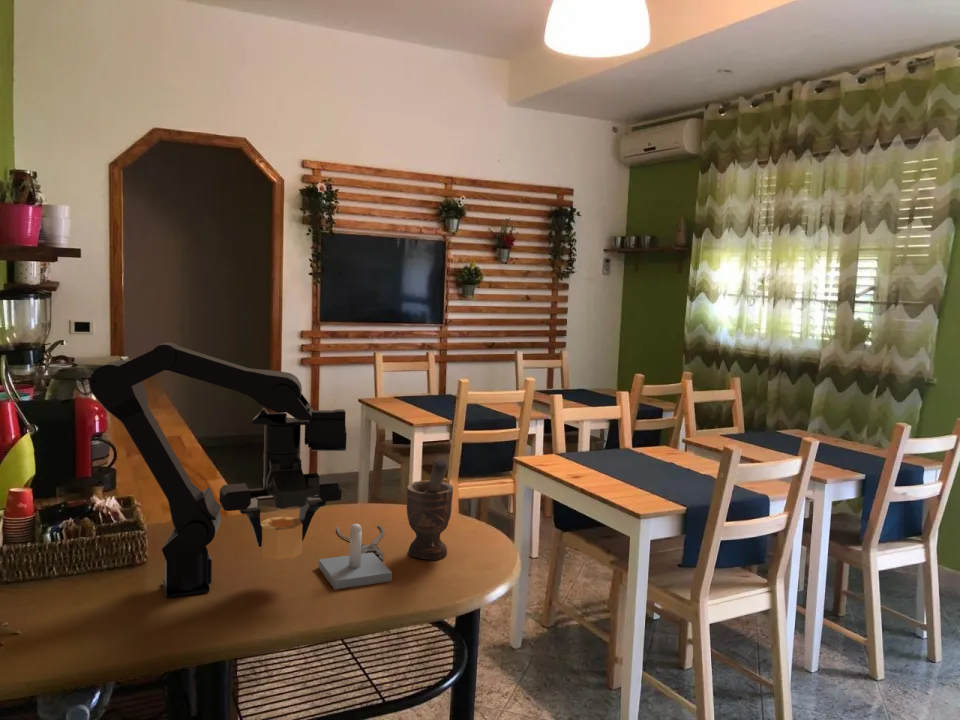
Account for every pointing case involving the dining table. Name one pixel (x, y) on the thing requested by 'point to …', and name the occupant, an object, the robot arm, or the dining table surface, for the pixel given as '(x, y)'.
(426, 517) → the mortar and pestle
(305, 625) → the dining table surface
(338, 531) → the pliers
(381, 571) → the pin base
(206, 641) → the dining table surface
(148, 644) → the dining table surface
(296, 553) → the collar
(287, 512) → the dining table surface
